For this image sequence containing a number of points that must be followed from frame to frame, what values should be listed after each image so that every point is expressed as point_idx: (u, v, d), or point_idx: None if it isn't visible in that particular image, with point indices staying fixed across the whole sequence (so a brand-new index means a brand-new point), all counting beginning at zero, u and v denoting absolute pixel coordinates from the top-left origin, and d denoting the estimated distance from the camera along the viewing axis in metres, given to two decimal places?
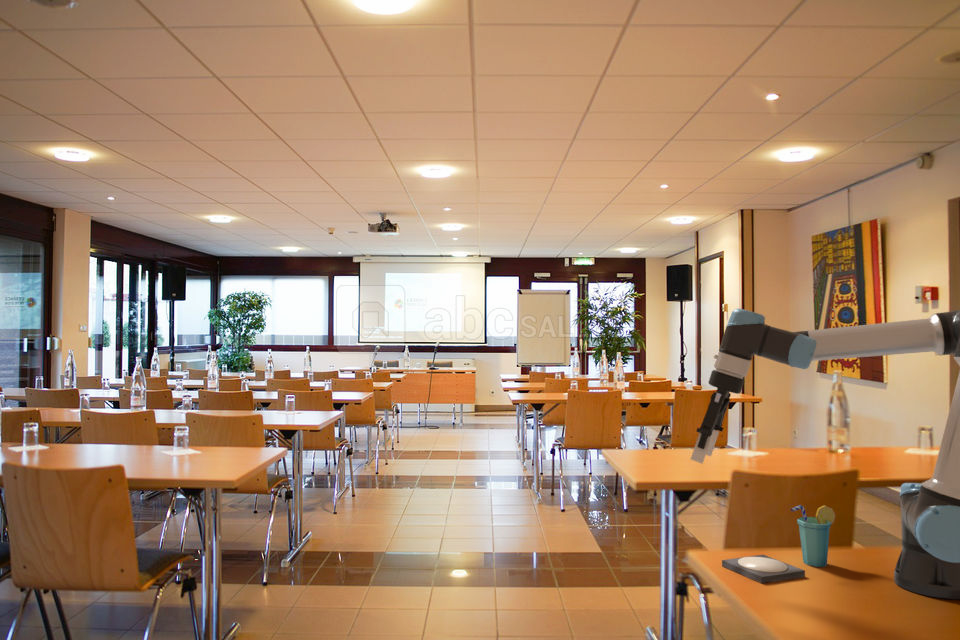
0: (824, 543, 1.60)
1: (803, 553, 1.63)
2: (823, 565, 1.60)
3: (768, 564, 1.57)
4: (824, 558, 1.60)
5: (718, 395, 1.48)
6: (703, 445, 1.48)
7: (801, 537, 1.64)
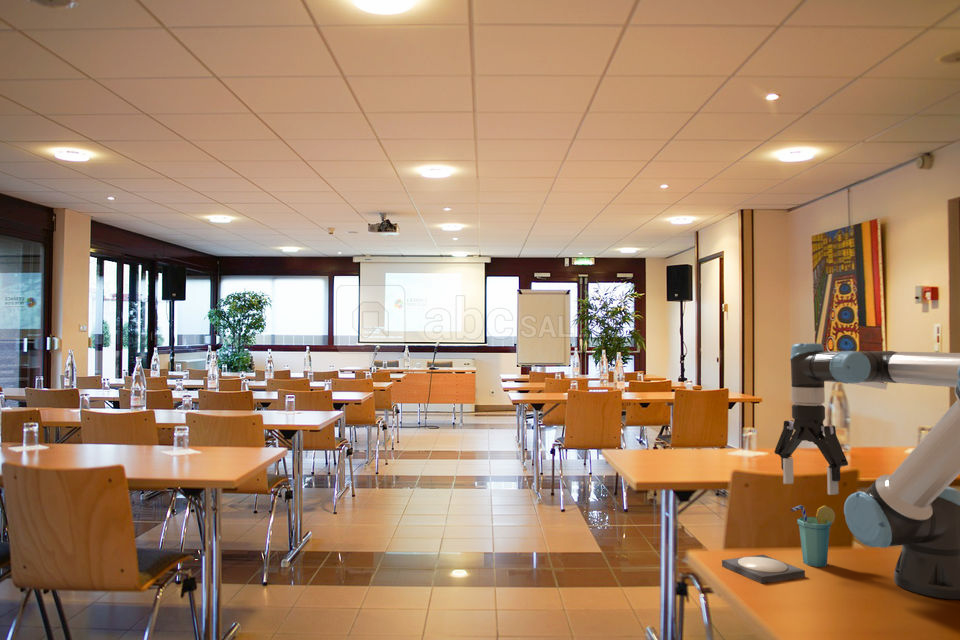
0: (824, 543, 1.60)
1: (803, 553, 1.63)
2: (823, 565, 1.60)
3: (768, 564, 1.57)
4: (824, 558, 1.60)
5: None
6: None
7: (801, 537, 1.64)
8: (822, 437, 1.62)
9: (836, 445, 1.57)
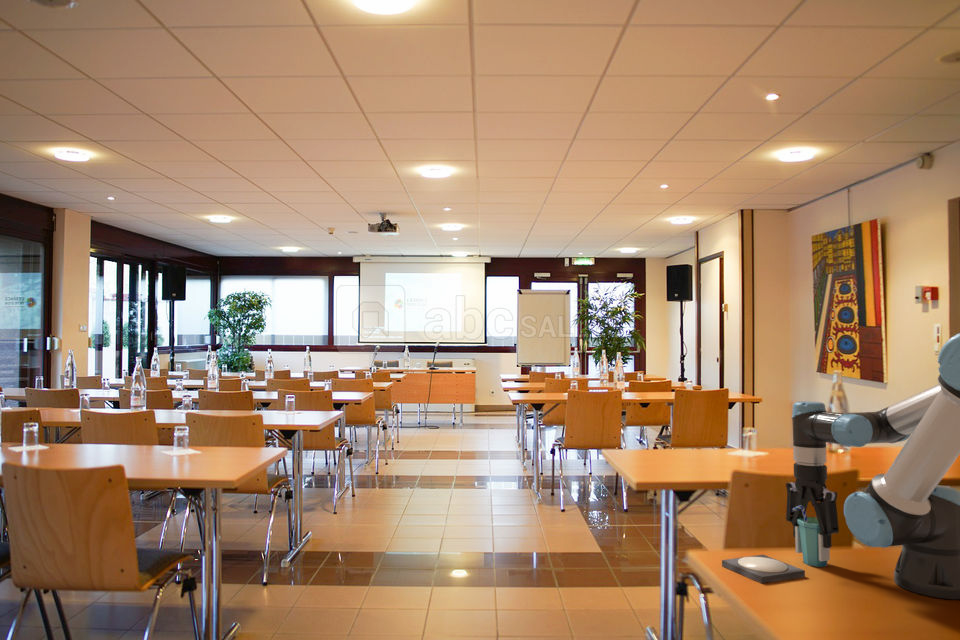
0: None
1: (803, 553, 1.63)
2: (823, 565, 1.60)
3: (768, 564, 1.57)
4: None
5: None
6: None
7: (801, 537, 1.64)
8: (822, 499, 1.62)
9: (833, 513, 1.57)
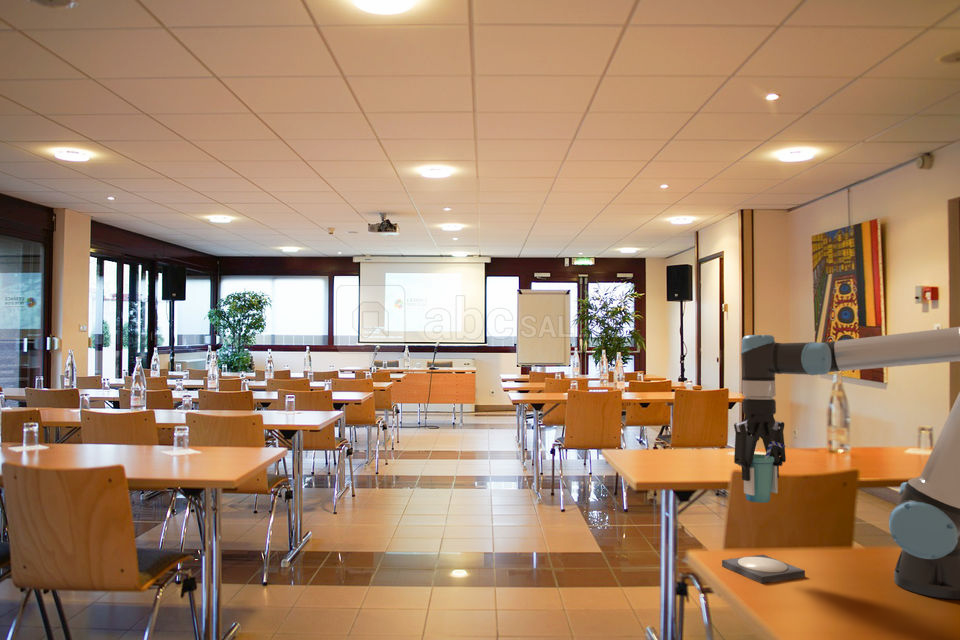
0: None
1: (761, 492, 1.56)
2: None
3: (768, 564, 1.57)
4: None
5: (737, 425, 1.56)
6: (745, 477, 1.56)
7: (759, 477, 1.56)
8: None
9: None
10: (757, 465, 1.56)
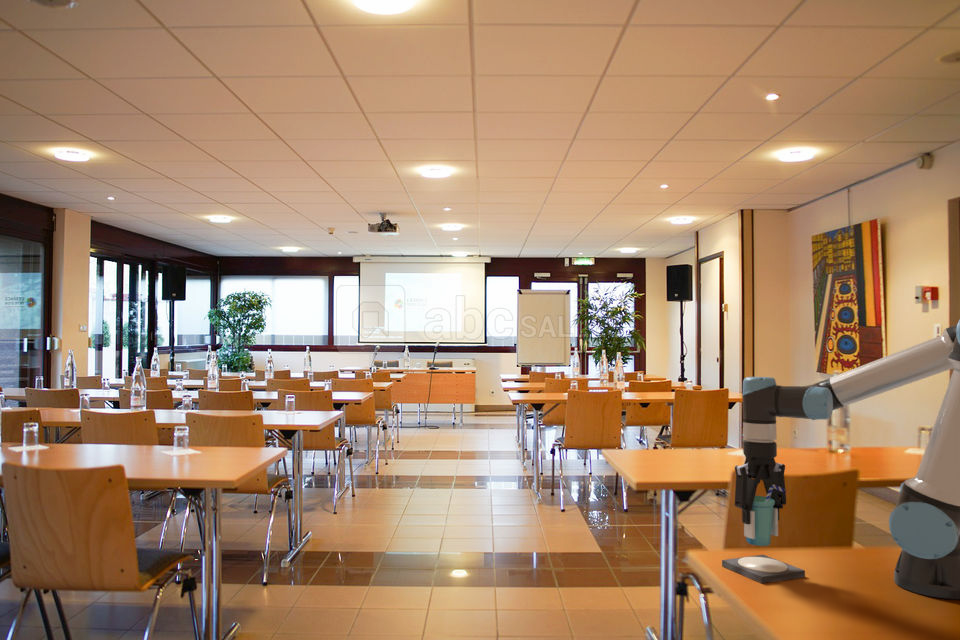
0: None
1: (761, 536, 1.56)
2: None
3: (768, 564, 1.57)
4: None
5: (738, 468, 1.56)
6: (745, 520, 1.55)
7: (760, 520, 1.55)
8: None
9: None
10: (758, 508, 1.56)
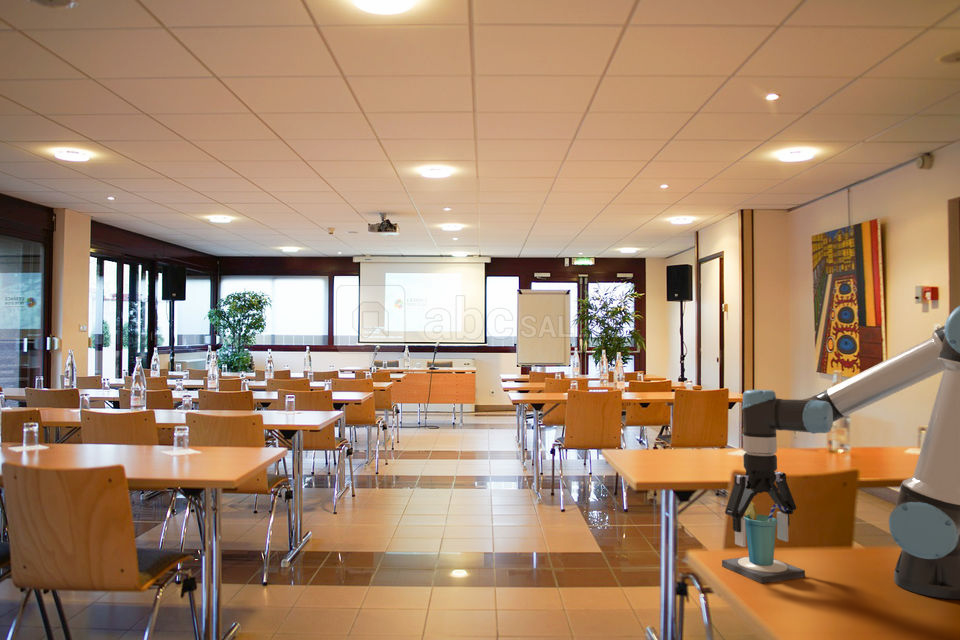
0: None
1: (764, 555, 1.55)
2: None
3: None
4: None
5: (738, 477, 1.56)
6: (736, 528, 1.54)
7: (763, 539, 1.55)
8: None
9: None
10: (760, 528, 1.55)
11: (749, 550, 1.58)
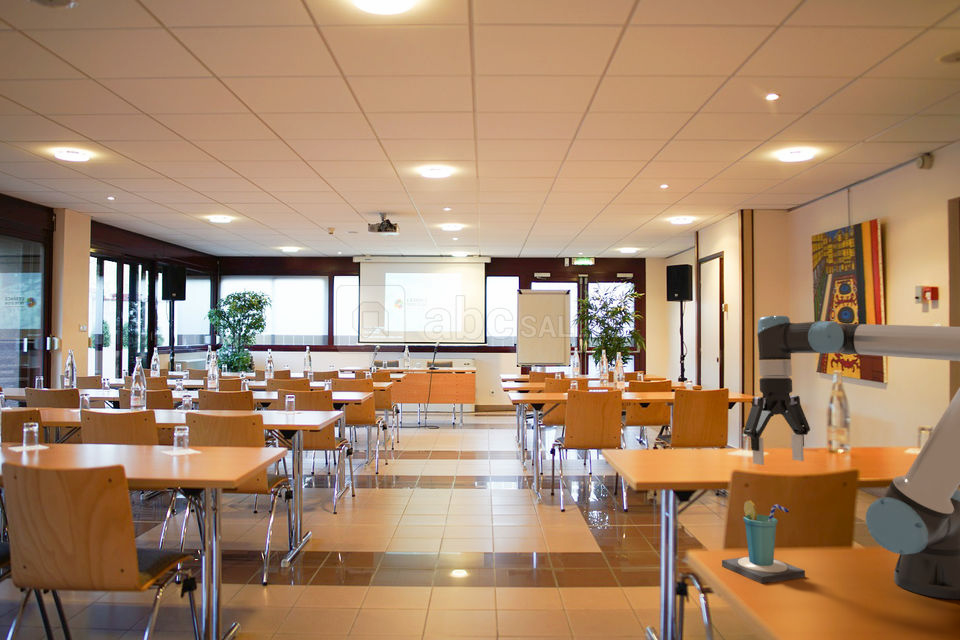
0: None
1: (764, 555, 1.55)
2: None
3: None
4: None
5: (756, 398, 1.61)
6: (754, 447, 1.59)
7: (763, 540, 1.55)
8: None
9: None
10: (760, 528, 1.55)
11: (749, 550, 1.58)
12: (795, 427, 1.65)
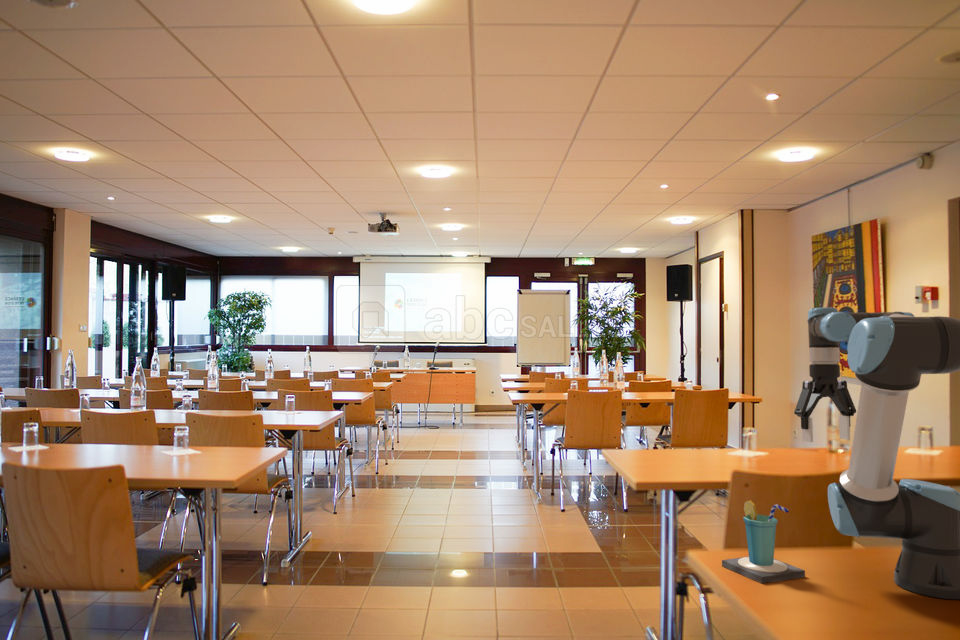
0: None
1: (764, 555, 1.55)
2: None
3: None
4: None
5: (806, 382, 1.78)
6: (804, 426, 1.76)
7: (763, 540, 1.55)
8: None
9: None
10: (760, 528, 1.55)
11: (749, 550, 1.58)
12: (842, 409, 1.82)
